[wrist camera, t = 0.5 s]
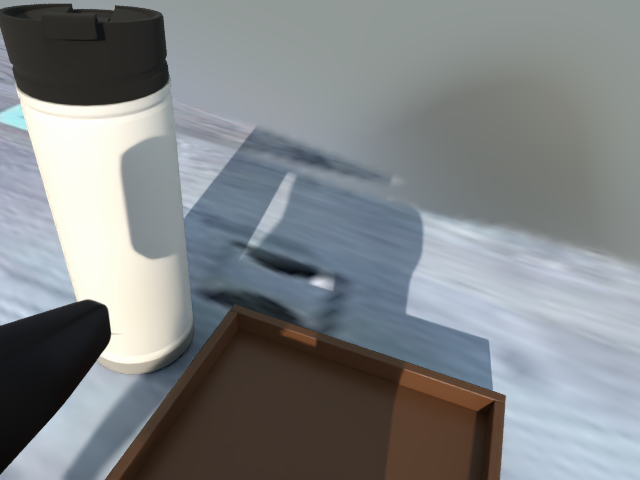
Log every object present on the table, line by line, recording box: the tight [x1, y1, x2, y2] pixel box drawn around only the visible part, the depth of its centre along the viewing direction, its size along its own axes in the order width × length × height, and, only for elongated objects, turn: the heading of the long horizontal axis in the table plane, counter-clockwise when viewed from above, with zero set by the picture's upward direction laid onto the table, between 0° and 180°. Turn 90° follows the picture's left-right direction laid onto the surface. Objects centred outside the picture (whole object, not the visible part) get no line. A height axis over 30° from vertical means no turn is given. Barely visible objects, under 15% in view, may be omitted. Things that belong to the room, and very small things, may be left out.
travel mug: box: [0, 4, 194, 374], centre depth 26 cm, size 6×7×20 cm
